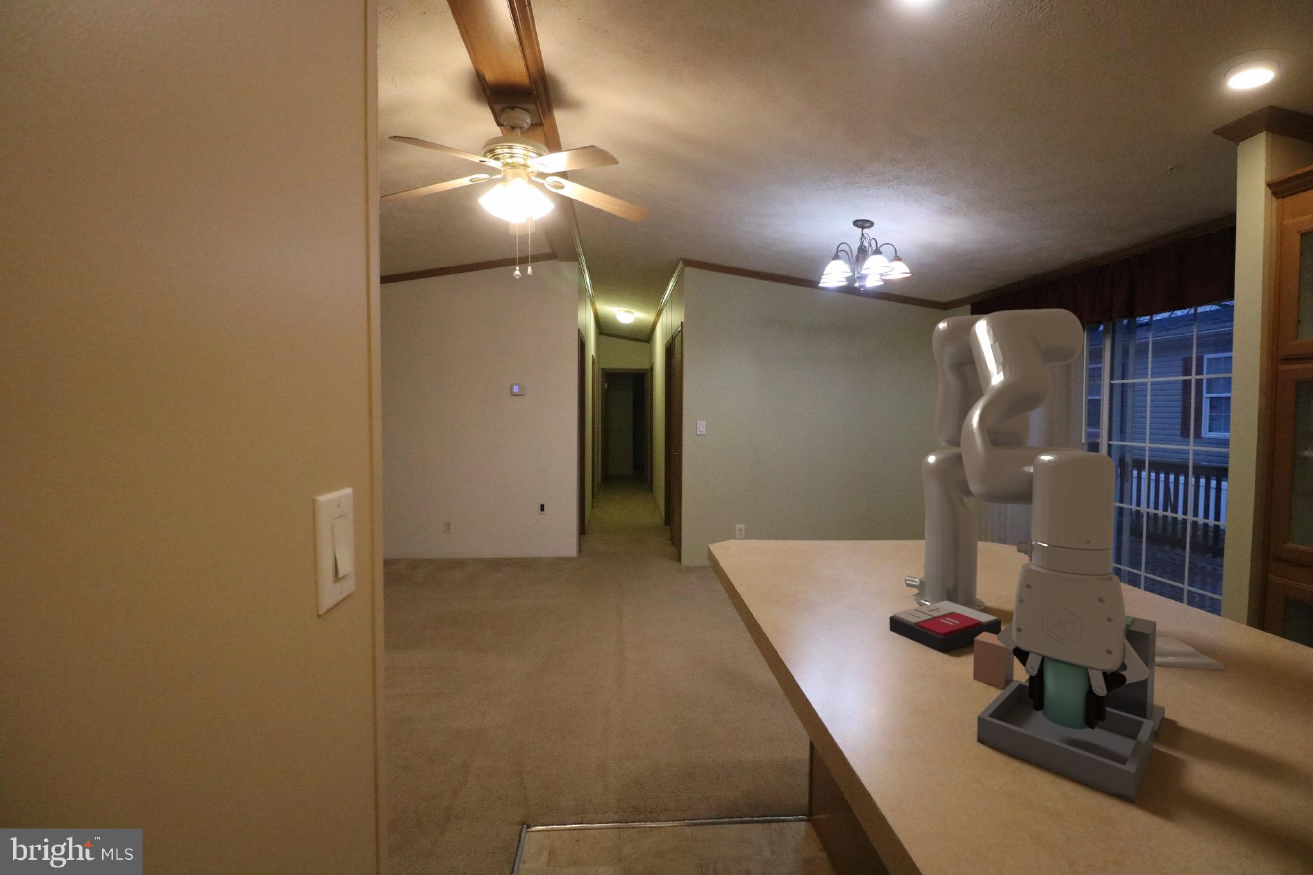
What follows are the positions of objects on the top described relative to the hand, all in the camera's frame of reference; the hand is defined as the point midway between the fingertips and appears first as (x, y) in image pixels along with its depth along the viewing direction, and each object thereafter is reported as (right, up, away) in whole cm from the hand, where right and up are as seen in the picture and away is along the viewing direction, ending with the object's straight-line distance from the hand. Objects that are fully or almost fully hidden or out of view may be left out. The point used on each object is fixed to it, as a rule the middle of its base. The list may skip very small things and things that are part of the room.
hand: (1065, 713), depth 64 cm
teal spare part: (0, -1, 0) cm, 1 cm away
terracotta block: (+2, -3, +16) cm, 17 cm away
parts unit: (+10, -3, +9) cm, 14 cm away
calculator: (+3, -3, +34) cm, 34 cm away
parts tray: (0, -4, 0) cm, 4 cm away
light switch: (+33, -4, +26) cm, 43 cm away
